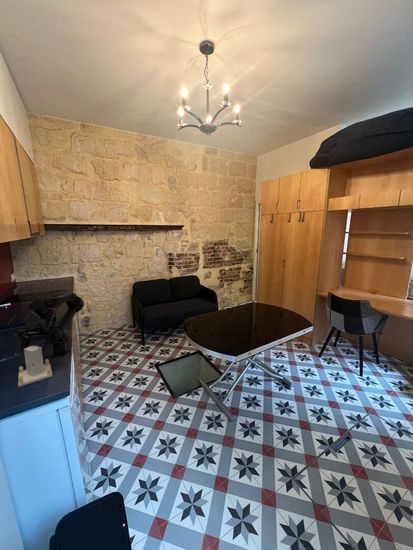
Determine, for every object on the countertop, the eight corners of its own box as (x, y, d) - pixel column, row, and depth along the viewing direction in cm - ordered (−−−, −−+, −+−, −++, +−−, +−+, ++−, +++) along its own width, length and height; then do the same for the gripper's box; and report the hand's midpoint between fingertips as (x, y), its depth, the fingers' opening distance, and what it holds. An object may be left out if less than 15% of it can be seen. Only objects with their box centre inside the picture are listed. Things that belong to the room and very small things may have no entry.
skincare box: (26, 374, 107) (22, 349, 105) (36, 368, 111) (32, 344, 109) (35, 376, 104) (31, 351, 102) (45, 371, 109) (41, 346, 107)
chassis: (19, 373, 109) (18, 367, 108) (50, 364, 116) (49, 358, 115) (18, 386, 99) (17, 379, 99) (52, 375, 106) (51, 368, 106)
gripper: (14, 313, 108) (-2, 347, 99) (55, 312, 109) (44, 345, 100) (28, 323, 117) (15, 355, 108) (67, 322, 118) (57, 353, 109)
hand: (32, 352), depth 106 cm, fingers open, 9 cm apart
